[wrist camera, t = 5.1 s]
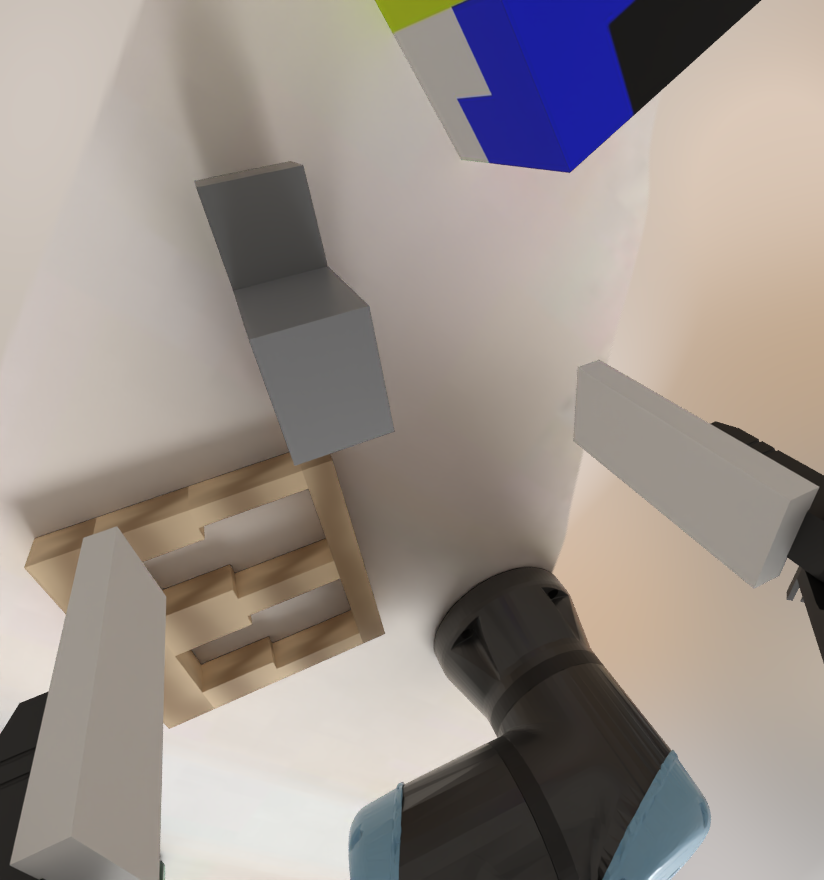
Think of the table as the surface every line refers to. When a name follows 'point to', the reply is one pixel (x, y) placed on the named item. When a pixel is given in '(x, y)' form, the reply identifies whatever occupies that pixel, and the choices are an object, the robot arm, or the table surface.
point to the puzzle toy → (549, 67)
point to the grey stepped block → (297, 311)
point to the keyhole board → (232, 581)
